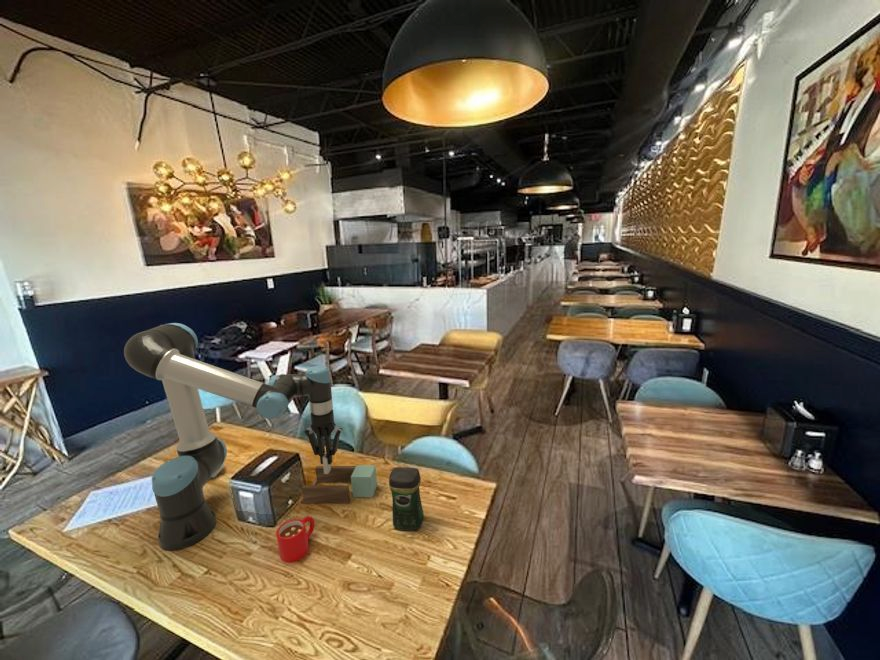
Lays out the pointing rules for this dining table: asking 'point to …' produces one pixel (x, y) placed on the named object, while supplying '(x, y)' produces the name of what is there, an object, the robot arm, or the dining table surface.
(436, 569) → the dining table surface
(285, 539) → the mug
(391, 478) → the coffee jar
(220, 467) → the die
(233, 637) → the dining table surface
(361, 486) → the block
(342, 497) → the dark wooden parallel walls
